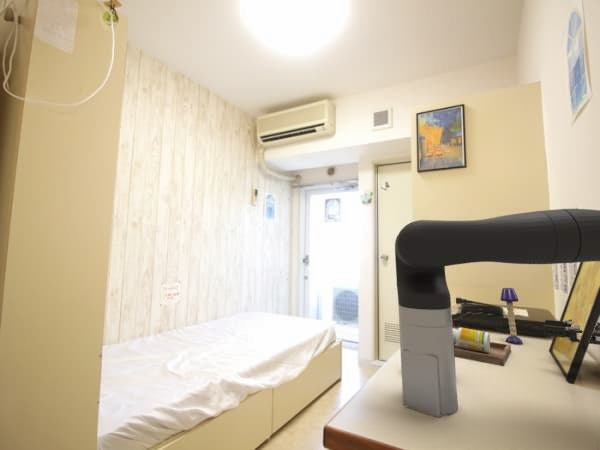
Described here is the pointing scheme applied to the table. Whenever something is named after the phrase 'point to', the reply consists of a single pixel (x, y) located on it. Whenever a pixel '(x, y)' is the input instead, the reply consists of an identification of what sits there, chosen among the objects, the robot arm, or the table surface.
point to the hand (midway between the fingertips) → (544, 326)
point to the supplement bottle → (472, 339)
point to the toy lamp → (511, 314)
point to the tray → (494, 356)
